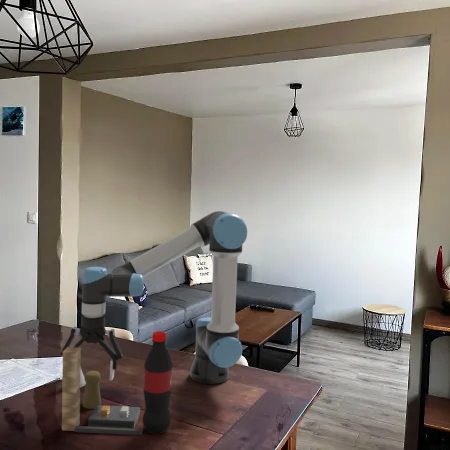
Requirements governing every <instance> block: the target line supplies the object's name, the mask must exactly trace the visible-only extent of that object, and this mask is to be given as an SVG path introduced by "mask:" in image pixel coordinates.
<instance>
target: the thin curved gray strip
mask: <svg viewBox="0 0 450 450" xmlns="http://www.w3.org/2000/svg"><path fill="white" fill-rule="evenodd" d="M143 431H144V429H143V428H134V429H131V428H109V427H88V425H87V426H86V425H85V426H83V425H82V426H81V425H79V426H76V427H75V431H74V432H75V433H87V434H88V433H92V434H93V433H94V434H109V433H110V434H113V435H115V434H116V435H130V436H131V435H134V436H139V435H140V436H143V433H144V432H143Z"/></svg>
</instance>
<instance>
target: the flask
mask: <svg viewBox="0 0 450 450" xmlns="http://www.w3.org/2000/svg"><path fill="white" fill-rule="evenodd" d="M84 376H85V374H84V373H83V371H82V367H81V366H80V389H81V388H83V387H85V386H86V382H85V380H84Z"/></svg>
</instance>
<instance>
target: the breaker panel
mask: <svg viewBox="0 0 450 450" xmlns="http://www.w3.org/2000/svg"><path fill="white" fill-rule="evenodd" d="M140 414H141V407H139V406H127V405H125V406H123V405H122V406H121V405H103V404H101V405H96V407H95V408H93V410H92V412H91V413H90V415H89V417H88V419H87V426H88V427H109V428H131V429H136V426H137V422H138V420H139V418H140Z"/></svg>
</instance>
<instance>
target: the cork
mask: <svg viewBox="0 0 450 450" xmlns="http://www.w3.org/2000/svg"><path fill="white" fill-rule="evenodd" d="M101 378H102V377H101V373H100V372H99V371H97V370H89V371H87V372H86V373H85V374H84V380H85V382H86V384H85V386H84V394H83V400H82V407H83V408H85V409H89V410H90V409H94V408H95V407H96V405H102V400H101V399H102V398H101V389H100V381H101Z"/></svg>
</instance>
